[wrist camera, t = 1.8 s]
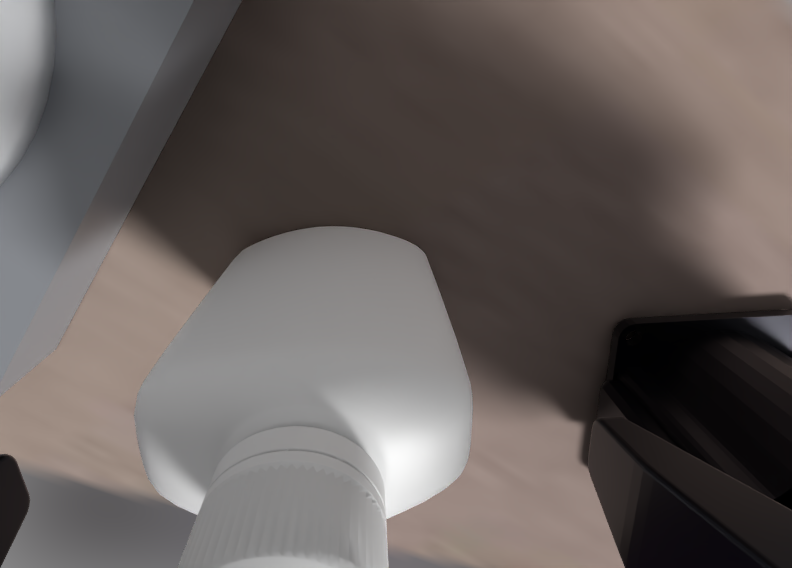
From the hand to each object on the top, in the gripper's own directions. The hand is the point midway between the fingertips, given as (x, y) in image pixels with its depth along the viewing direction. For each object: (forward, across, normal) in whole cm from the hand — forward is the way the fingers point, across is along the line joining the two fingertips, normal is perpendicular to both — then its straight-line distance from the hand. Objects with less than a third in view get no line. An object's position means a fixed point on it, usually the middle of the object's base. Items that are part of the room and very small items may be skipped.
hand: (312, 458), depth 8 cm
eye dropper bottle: (+8, 0, 0) cm, 8 cm away
